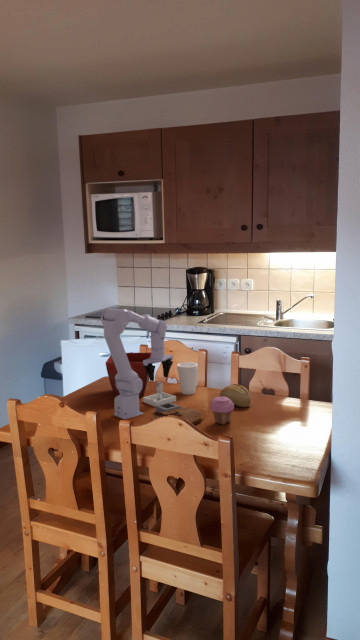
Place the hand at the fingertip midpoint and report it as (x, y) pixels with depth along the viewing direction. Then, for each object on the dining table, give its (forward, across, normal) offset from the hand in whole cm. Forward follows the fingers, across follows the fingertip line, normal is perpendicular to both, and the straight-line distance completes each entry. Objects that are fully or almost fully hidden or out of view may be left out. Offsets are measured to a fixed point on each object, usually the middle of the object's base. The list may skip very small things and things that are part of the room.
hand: (158, 378), depth 218 cm
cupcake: (+11, +2, -36) cm, 38 cm away
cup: (+10, -6, -13) cm, 18 cm away
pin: (+10, 0, 0) cm, 10 cm away
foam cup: (+11, +18, +2) cm, 21 cm away
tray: (+10, 0, 0) cm, 10 cm away
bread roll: (+11, +22, -24) cm, 34 cm away
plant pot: (+11, -1, +20) cm, 23 cm away
